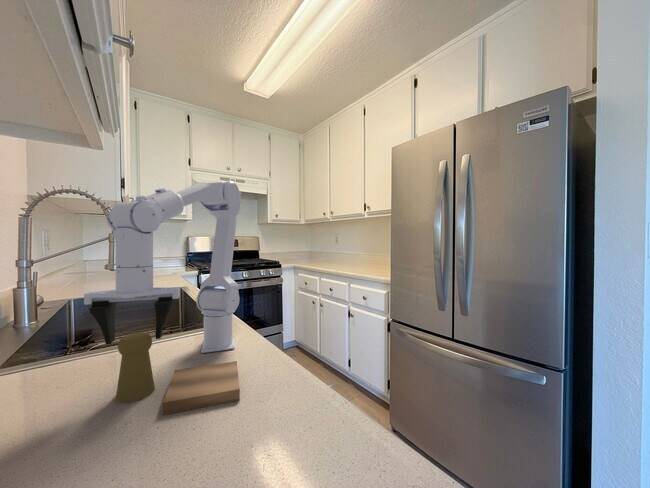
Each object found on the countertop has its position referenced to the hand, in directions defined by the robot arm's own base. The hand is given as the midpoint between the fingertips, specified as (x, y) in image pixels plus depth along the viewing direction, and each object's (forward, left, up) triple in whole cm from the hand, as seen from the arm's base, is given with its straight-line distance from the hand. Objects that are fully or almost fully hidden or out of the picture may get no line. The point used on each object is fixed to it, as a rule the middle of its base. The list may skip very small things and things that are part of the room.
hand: (135, 339), depth 51 cm
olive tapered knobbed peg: (0, 0, -10) cm, 10 cm away
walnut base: (+3, +12, -10) cm, 16 cm away
